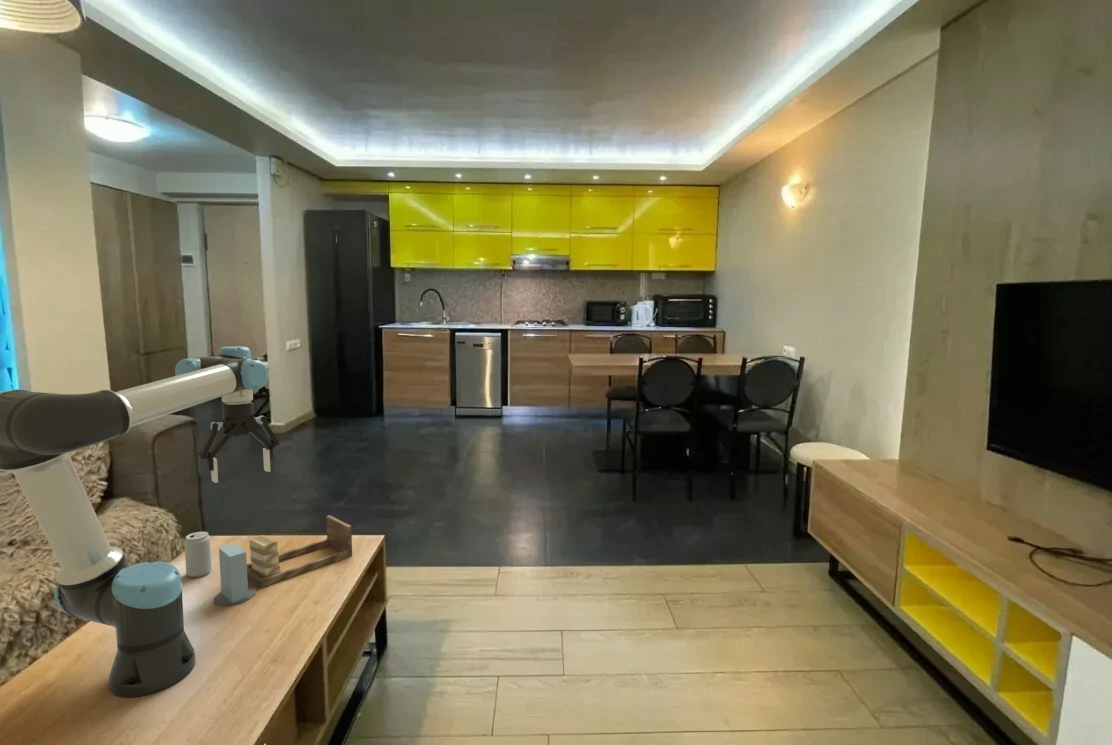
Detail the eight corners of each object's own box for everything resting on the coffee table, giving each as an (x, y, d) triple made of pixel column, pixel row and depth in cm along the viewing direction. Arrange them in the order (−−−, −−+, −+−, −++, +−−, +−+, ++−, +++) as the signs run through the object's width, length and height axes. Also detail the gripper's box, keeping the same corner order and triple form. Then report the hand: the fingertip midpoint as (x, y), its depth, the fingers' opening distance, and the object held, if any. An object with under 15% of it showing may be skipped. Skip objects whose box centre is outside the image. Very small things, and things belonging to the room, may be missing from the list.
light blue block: (232, 602, 148) (229, 556, 146) (221, 592, 153) (218, 548, 151) (248, 597, 151) (246, 551, 149) (236, 587, 156) (234, 543, 154)
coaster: (221, 610, 145) (221, 608, 145) (208, 596, 151) (208, 595, 151) (261, 595, 152) (261, 594, 152) (247, 583, 159) (247, 582, 159)
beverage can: (188, 570, 166) (186, 532, 165) (213, 566, 169) (211, 529, 167) (184, 580, 160) (182, 540, 159) (210, 576, 163) (208, 537, 161)
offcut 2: (264, 569, 159) (264, 556, 159) (250, 560, 165) (250, 548, 164) (278, 565, 162) (278, 552, 162) (264, 556, 168) (263, 543, 167)
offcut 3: (266, 583, 160) (266, 570, 159) (252, 572, 166) (251, 559, 165) (280, 578, 163) (280, 565, 162) (265, 567, 169) (265, 555, 168)
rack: (259, 588, 156) (258, 554, 155) (240, 572, 165) (238, 540, 164) (352, 555, 178) (351, 525, 177) (330, 543, 187) (329, 515, 186)
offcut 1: (264, 556, 159) (263, 546, 159) (249, 549, 164) (249, 539, 163) (277, 551, 163) (277, 541, 162) (263, 544, 167) (262, 534, 167)
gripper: (190, 409, 141) (195, 489, 143) (289, 398, 159) (292, 469, 162) (181, 406, 146) (186, 483, 148) (278, 395, 164) (281, 464, 167)
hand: (242, 476), depth 155 cm, fingers open, 13 cm apart
